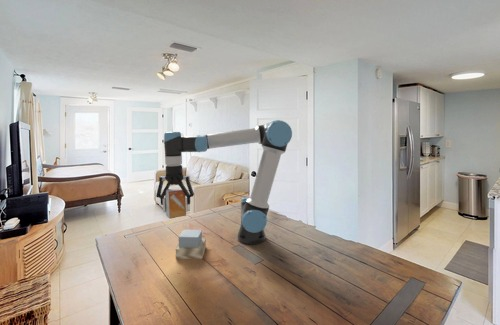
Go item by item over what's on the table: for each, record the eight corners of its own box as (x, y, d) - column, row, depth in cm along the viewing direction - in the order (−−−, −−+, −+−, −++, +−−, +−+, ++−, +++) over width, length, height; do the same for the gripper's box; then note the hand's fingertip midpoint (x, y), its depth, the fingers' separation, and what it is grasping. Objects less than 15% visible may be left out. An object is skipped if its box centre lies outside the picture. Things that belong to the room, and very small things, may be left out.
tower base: (205, 247, 129) (205, 238, 129) (202, 259, 118) (202, 248, 117) (181, 247, 129) (181, 238, 128) (175, 259, 117) (175, 249, 116)
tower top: (201, 239, 127) (201, 229, 127) (198, 247, 118) (198, 237, 118) (183, 239, 127) (183, 229, 127) (178, 247, 118) (178, 237, 118)
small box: (169, 219, 118) (168, 191, 116) (165, 215, 123) (164, 189, 121) (186, 215, 122) (185, 189, 121) (182, 212, 127) (181, 186, 126)
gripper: (199, 163, 124) (201, 208, 126) (152, 164, 123) (155, 209, 126) (196, 165, 116) (198, 213, 119) (146, 166, 116) (149, 214, 118)
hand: (176, 211), depth 122 cm, fingers closed on small box, 10 cm apart
